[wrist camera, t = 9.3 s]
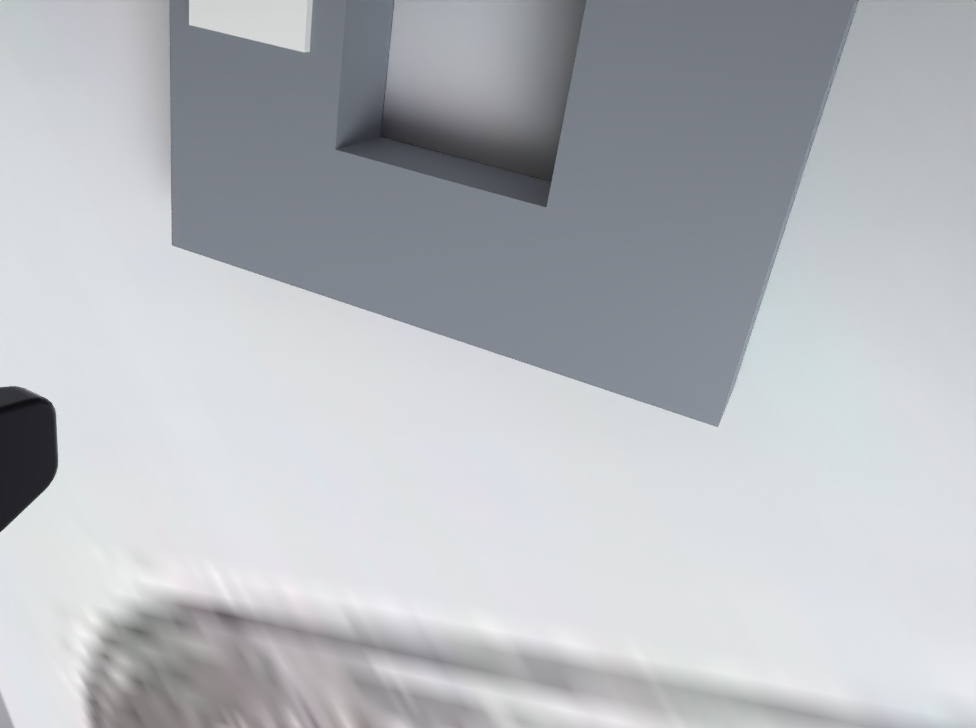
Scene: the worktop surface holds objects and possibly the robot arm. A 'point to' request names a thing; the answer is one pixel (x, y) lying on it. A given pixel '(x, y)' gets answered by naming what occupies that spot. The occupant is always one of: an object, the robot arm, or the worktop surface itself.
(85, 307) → the worktop surface
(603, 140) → the port panel
